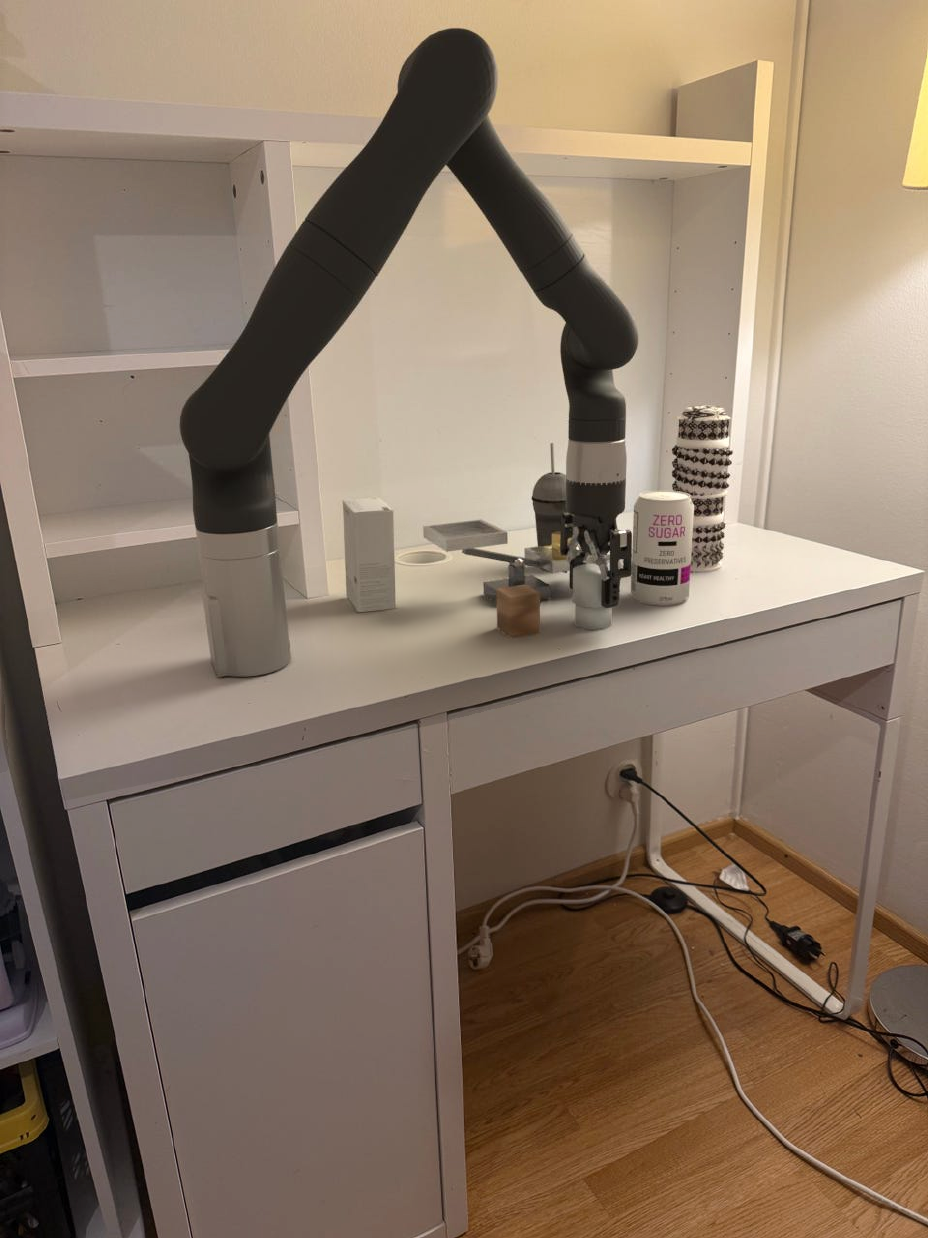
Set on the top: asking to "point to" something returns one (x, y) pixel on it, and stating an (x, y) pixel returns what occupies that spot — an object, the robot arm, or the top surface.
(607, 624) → the white stepped cylinder
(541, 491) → the beverage cup
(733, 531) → the top surface
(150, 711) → the top surface
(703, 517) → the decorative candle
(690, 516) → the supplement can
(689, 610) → the top surface
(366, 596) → the skincare box
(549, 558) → the balance
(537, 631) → the walnut block
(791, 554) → the top surface
